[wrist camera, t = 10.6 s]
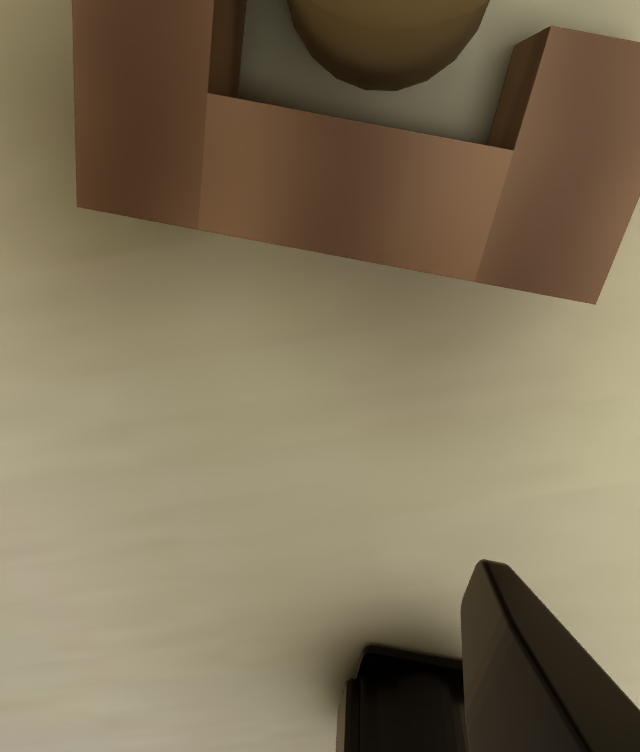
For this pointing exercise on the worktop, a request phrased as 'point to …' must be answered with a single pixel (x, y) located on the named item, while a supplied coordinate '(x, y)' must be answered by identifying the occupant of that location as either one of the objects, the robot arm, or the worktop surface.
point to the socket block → (360, 154)
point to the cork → (386, 37)
